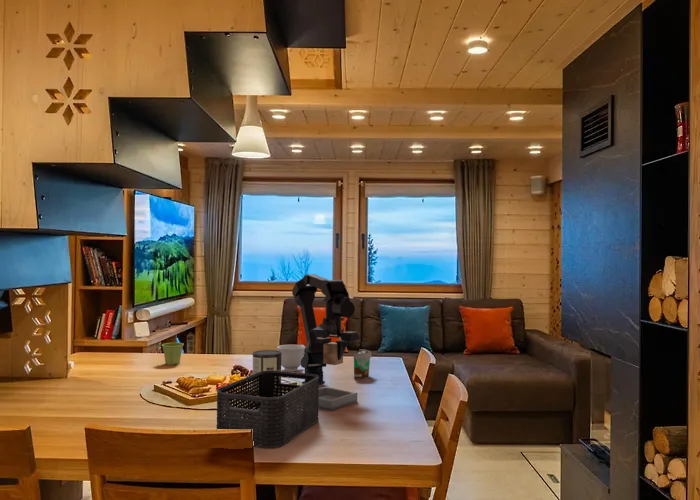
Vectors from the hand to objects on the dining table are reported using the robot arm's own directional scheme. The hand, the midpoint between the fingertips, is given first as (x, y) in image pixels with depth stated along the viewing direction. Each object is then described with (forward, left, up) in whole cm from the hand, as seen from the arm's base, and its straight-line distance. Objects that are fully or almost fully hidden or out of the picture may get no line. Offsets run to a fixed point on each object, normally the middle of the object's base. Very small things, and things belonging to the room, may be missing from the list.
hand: (333, 359), depth 198 cm
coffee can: (-18, -15, -12) cm, 26 cm away
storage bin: (+13, -45, -12) cm, 48 cm away
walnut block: (0, 0, -2) cm, 2 cm away
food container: (-6, +28, -12) cm, 31 cm away
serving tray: (+8, -13, -12) cm, 19 cm away
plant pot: (-87, -4, -12) cm, 88 cm away
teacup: (-37, +20, -12) cm, 44 cm away
